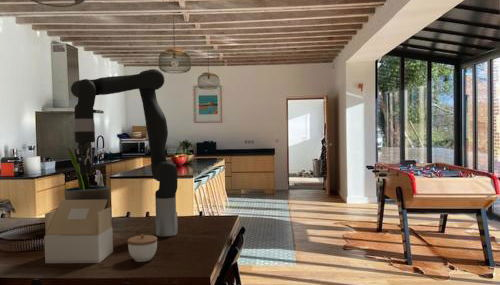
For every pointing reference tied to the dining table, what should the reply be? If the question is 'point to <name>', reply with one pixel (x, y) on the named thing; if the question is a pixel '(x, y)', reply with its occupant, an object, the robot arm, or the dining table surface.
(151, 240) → the lidded jar
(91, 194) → the potted plant
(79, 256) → the carton
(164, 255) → the dining table surface
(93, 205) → the flap
